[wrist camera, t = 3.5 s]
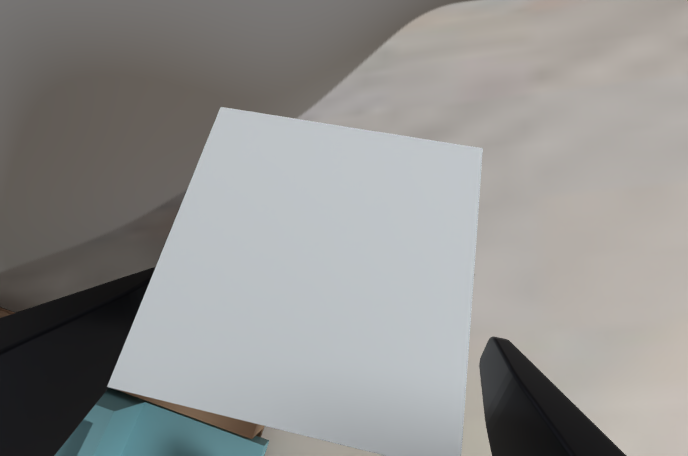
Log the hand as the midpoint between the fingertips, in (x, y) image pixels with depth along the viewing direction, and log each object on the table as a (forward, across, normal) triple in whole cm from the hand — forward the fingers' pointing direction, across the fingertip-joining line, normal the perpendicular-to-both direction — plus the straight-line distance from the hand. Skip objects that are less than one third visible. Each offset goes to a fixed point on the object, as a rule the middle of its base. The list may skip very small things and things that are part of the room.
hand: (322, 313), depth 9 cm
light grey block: (+6, 0, +6) cm, 8 cm away
